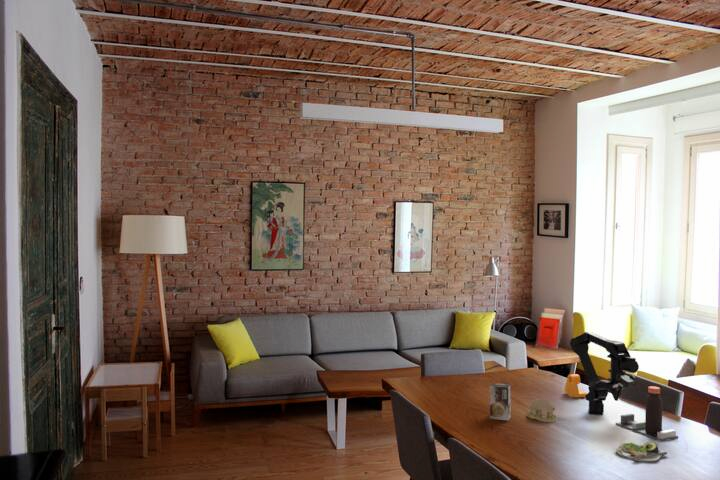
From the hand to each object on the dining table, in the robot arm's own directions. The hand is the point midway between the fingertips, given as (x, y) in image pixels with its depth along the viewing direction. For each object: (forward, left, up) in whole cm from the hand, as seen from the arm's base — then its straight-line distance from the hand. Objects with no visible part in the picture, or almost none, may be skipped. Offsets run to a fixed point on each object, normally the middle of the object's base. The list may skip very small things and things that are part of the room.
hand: (616, 400), depth 292 cm
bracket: (-16, +40, -10) cm, 44 cm away
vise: (+11, -13, -9) cm, 20 cm away
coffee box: (-53, -14, -10) cm, 56 cm away
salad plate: (+5, -45, -10) cm, 47 cm away
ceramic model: (-34, -8, -10) cm, 37 cm away
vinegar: (+14, -16, -9) cm, 23 cm away
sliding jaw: (+7, -8, -9) cm, 14 cm away
